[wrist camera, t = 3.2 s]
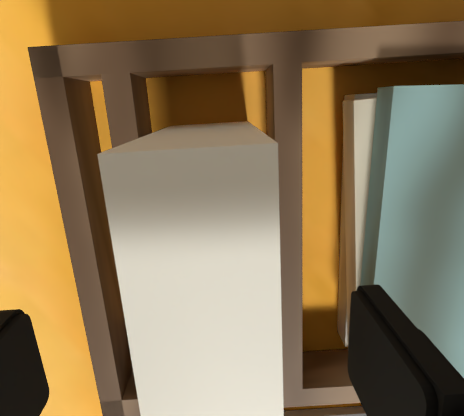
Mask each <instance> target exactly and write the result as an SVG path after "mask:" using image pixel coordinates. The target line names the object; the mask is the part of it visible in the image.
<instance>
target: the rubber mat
mask: <svg viewBox="0 0 464 416" xmlns="http://www.w3.org/2000/svg"><path fill="white" fill-rule="evenodd" d="M284 416H367V415H366V413H365V411H364V409H363V407H362V406H352V407H336V408H320V409H304V410H288V411H284Z"/></svg>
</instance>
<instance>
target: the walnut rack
mask: <svg viewBox="0 0 464 416" xmlns="http://www.w3.org/2000/svg"><path fill="white" fill-rule="evenodd" d="M28 52H29V56H30V61H31V66H32V71H33V76H34V81H35V86H36V91H37V96H38V101H39V105H40V110H41V115H42V120H43V125H44V130H45V135H46V140H47V145H48V150H49V154H50V159H51V164H52V169H53V174H54V179H55V184H56V189H57V194H58V199H59V203H60V208H61V213H62V218H63V223H64V228H65V233H66V238H67V243H68V248H69V252H70V257H71V262H72V267H73V272H74V277H75V282H76V287H77V292H78V296H79V301H80V306H81V311H82V316H83V321H84V326H85V331H86V336H87V341H88V345H89V350H90V355H91V360H92V365H93V370H94V375H95V380H96V385H97V390H98V394H99V399H100V404H101V409H102V414H103V416H141V415H140V409H139V403H138V397H137V391H136V385H135V379H134V373H133V367H132V361H131V355H130V349H129V343H128V337H127V331H126V325H125V318H124V312H123V306H122V300H121V294H120V288H119V282H118V276H117V270H116V264H115V258H114V252H113V246H112V240H111V234H110V228H109V222H108V216H107V210H106V204H105V198H104V192H103V186H102V180H101V174H100V168H99V161H98V155H97V154H99V153H101V150H100V144H99V138H98V131H97V125H96V119H95V113H94V107H93V101H92V95H91V88H90V82H89V81H102V84H103V91H104V97H105V104H106V110H107V117H108V123H109V130H110V136H111V143H112V148H114V147H117V146H120V145H122V144H125V143H127V142H130V141H133V140H135V139H138V138H140V137H143V136H146V135H148V134H151V133H152V129H151V121H150V112H149V104H148V96H147V87H146V79H145V78H152V77H169V76H185V75H202V74H218V73H235V72H251V71H265V76H266V110H267V136H269V137H270V138H272V139H273V140H274V141H276V142H277V143H278V169H279V216H280V263H281V311H282V358H283V406H284V408H286V407H302V406H318V405H334V404H350V403H361V402H360V400H359V398H358V396H357V394H356V392H355V389H354V387H353V385H352V383H351V381H350V378H349V375H348V367H347V365H348V349H340V350H324V351H308V352H302V68H318V67H334V66H351V65H367V64H384V63H400V62H417V61H433V60H450V59H464V21H453V22H437V23H420V24H404V25H387V26H371V27H354V28H337V29H321V30H304V31H288V32H271V33H255V34H238V35H221V36H205V37H188V38H172V39H155V40H138V41H122V42H105V43H89V44H72V45H56V46H39V47H28Z"/></svg>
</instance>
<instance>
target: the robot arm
mask: <svg viewBox="0 0 464 416" xmlns="http://www.w3.org/2000/svg"><path fill="white" fill-rule="evenodd" d="M347 367H348V375H349V378H350V381H351V383H352V385H353V387H354V389H355V392H356V394H357V396H358V398H359V400H360V402H361V404H362V407H363V409H364V411H365V413H366V415H367V416H464V378H463V377H462V376H461V375H460V373H459V372H458V371H457V370H456V369H455V368H454V367H453V365H452V364H451V363H450V362H449V361H448V360H447V359H446V357H445V356H444V355H443V354H442V353H441V352H440V351H439V349H438V348H437V347H436V346H435V345H434V344H433V343H432V341H431V340H430V339H429V338H428V337H427V336H426V335H425V333H423V332H422V331H421V330H420V329H417V327H416V326H415V325H414V324H413V323H412V322H411V320H410V319H409V318H408V317H407V316H406V315H405V313H404V312H403V311H402V310H401V309H400V308H399V307H398V305H397V304H396V303H395V302H394V301H393V300H392V298H391V297H390V296H389V295H388V294H387V293H386V292H385V290H384V289H383V288H382V287H381V286H380V285H378V284H376V285H362V286H358V287H357V291H352V293H351V303H350V324H349V344H348V365H347ZM48 397H49V387H48V383H47V379H46V375H45V372H44V368H43V364H42V360H41V356H40V353H39V349H38V345H37V341H36V338H35V334H34V330H33V326H32V322H31V319H30V316H29V315H28V314H24V312H23V311H22V310H20V309H17V310H3V311H0V416H39V415H40V414H41V412H42V410H43V408H44V407H45V405H46V403H47V401H48Z"/></svg>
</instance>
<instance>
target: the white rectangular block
mask: <svg viewBox="0 0 464 416" xmlns="http://www.w3.org/2000/svg"><path fill="white" fill-rule="evenodd" d="M97 155H98V161H99V168H100V174H101V180H102V186H103V192H104V198H105V204H106V210H107V216H108V222H109V228H110V234H111V240H112V246H113V252H114V258H115V264H116V270H117V276H118V282H119V288H120V294H121V300H122V306H123V312H124V318H125V325H126V331H127V337H128V343H129V349H130V355H131V361H132V367H133V373H134V379H135V385H136V391H137V397H138V403H139V409H140V415H141V416H284V406H283V358H282V311H281V263H280V216H279V169H278V143H277V142H276V141H274V140H273V139H272V138H270V137H269V136H267V135H266V134H265V133H263V132H262V131H260V130H259V129H258V128H256V127H255V126H253V125H252V124H251V123H249V122H248V121H242V122H226V123H209V124H193V125H177V126H169V127H166V128H164V129H161V130H159V131H156V132H153V133H151V134H148V135H146V136H143V137H140V138H138V139H135V140H133V141H130V142H127V143H125V144H122V145H120V146H117V147H114V148H112V149H109V150H107V151H104V152H101V153H99V154H97Z"/></svg>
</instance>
